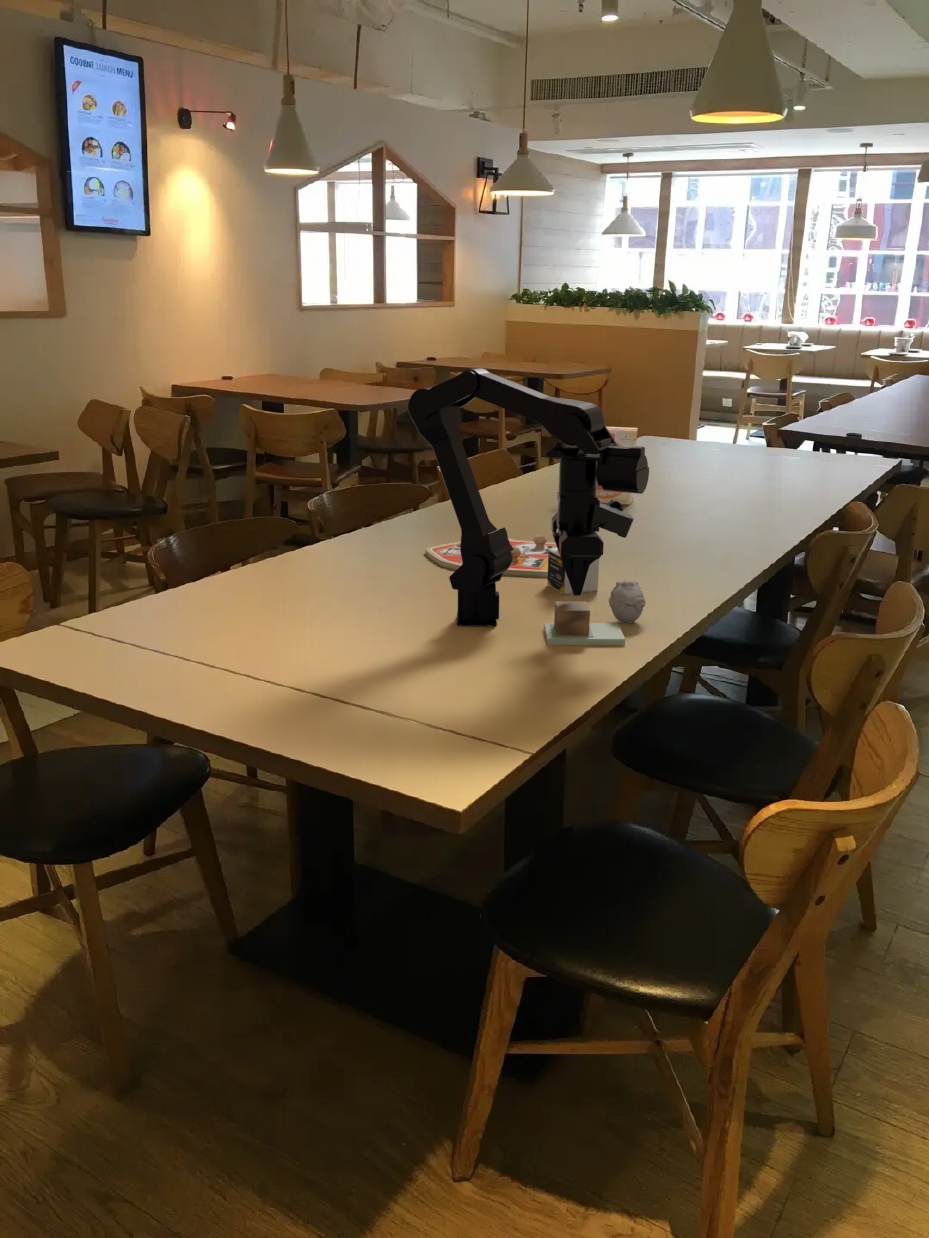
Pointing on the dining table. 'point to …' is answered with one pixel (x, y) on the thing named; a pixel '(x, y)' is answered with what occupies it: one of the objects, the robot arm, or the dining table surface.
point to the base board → (597, 635)
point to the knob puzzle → (525, 556)
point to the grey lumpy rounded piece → (627, 601)
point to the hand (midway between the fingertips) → (574, 587)
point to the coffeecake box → (623, 439)
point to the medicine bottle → (559, 576)
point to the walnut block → (572, 618)
